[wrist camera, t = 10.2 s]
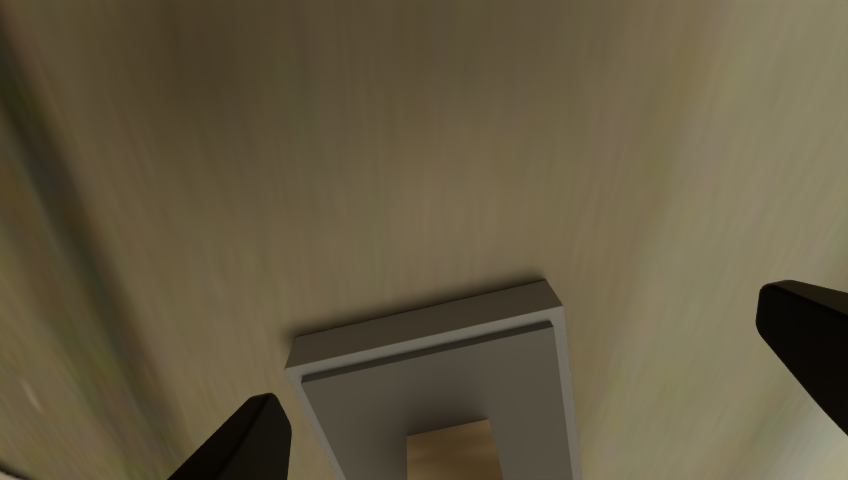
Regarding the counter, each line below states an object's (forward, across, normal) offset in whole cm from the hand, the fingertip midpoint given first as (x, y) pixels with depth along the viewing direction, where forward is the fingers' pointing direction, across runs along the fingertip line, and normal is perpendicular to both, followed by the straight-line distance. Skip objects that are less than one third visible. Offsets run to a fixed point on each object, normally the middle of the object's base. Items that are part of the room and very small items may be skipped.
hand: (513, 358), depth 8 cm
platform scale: (+13, +3, +15) cm, 20 cm away
